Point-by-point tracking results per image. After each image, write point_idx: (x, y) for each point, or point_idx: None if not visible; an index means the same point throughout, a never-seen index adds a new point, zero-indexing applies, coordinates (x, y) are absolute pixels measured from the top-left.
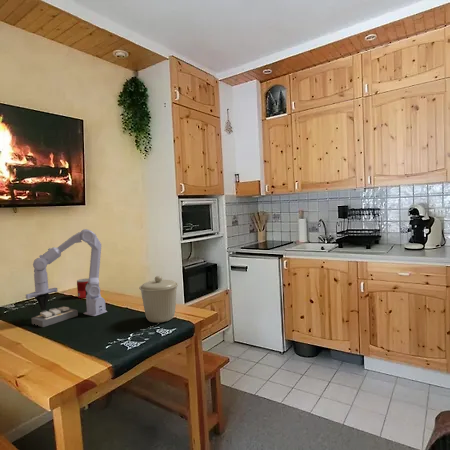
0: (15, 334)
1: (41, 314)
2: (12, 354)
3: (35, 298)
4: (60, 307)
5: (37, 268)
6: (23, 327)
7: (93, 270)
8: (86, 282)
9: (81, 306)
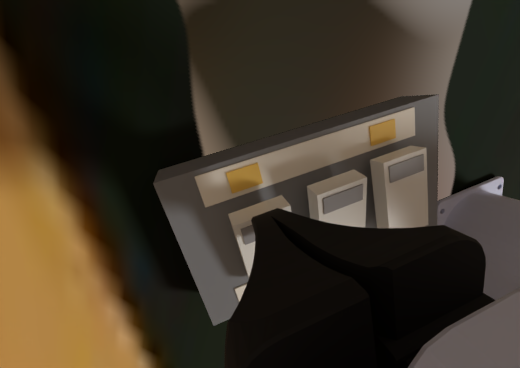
0: (29, 333)
1: (235, 236)
2: None
3: (234, 319)
4: (400, 172)
5: None
6: (89, 211)
7: None
8: None
9: (515, 10)
